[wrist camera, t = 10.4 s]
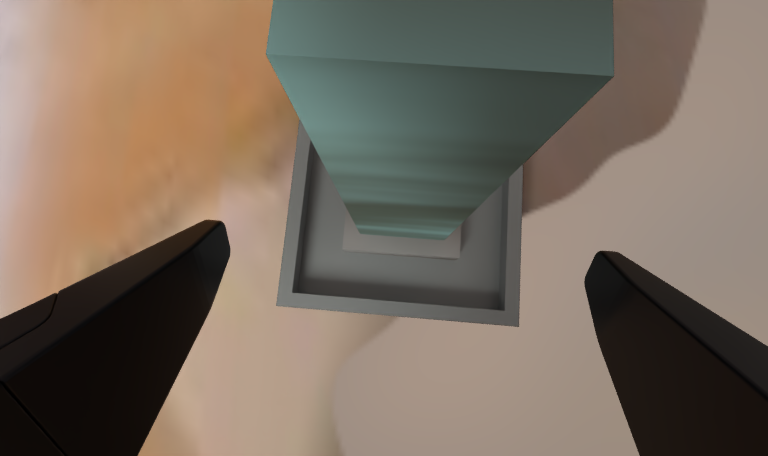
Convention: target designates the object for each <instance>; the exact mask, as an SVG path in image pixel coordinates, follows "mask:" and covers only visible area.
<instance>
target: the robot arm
mask: <svg viewBox="0 0 768 456" xmlns="http://www.w3.org/2000/svg"><path fill="white" fill-rule="evenodd" d="M229 257H230V245H229V240H228V236H227V232H226V227H225V225H224V223H223V222H222V221H216V220H204V221H202V222H200V223H198V224H196V225H194V226H192V227H190V228H187V229H185V230H183V231H181V232H179V233H177V234H175V235H173V236H171V237H169V238H167V239H165V240H163V241H161V242H159V243H157V244H155V245H153V246H151V247H148V248H146V249H144V250H142V251H140V252H138V253H136V254H134V255H132V256H130V257H128V258H126V259H124V260H122V261H120V262H118V263H116V264H114V265H112V266H109V267H107V268H105V269H103V270H101V271H99V272H97V273H95V274H93V275H91V276H89V277H87V278H85V279H83V280H81V281H79V282H77V283H75V284H73V285H70V286H68V287H66V288H64V289H62V290H60V291H59V292H58V294H57V293H54V294H52V295H50V296H48V297H46V298H44V299H42V300H40V301H38V302H35V303H33V304H31V305H29V306H27V307H25V308H23V309H21V310H18V311H16V312H14V313H12V314H10V315H8V316H6V317H3V318H1V319H0V456H138V454H139V452H140V450H141V448H142V446H143V444H144V442H145V440H146V438H147V436H148V434H149V432H150V430H151V428H152V426H153V424H154V422H155V420H156V418H157V416H158V414H159V412H160V410H161V408H162V406H163V404H164V402H165V400H166V398H167V396H168V394H169V392H170V390H171V388H172V386H173V384H174V382H175V380H176V378H177V376H178V374H179V372H180V370H181V368H182V366H183V364H184V362H185V360H186V358H187V356H188V354H189V352H190V350H191V348H192V346H193V344H194V342H195V340H196V338H197V336H198V334H199V332H200V330H201V328H202V326H203V324H204V322H205V320H206V318H207V316H208V313H209V311H210V309H211V307H212V304H213V302H214V299H215V296H216V293H217V291H218V288H219V285H220V282H221V279H222V277H223V274H224V271H225V268H226V265H227V263H228V260H229ZM585 289H586V294H587V298H588V302H589V306H590V310H591V315H592V319H593V323H594V327H595V331H596V335H597V339H598V342H599V345H600V348H601V351H602V354H603V357H604V359H605V362H606V365H607V367H608V370H609V373H610V376H611V378H612V381H613V384H614V387H615V389H616V392H617V395H618V397H619V400H620V403H621V406H622V408H623V411H624V414H625V417H626V419H627V422H628V425H629V428H630V430H631V433H632V436H633V438H634V441H635V444H636V447H637V449H638V452H639V455H640V456H768V346H766V345H765V344H763V343H761V342H760V341H758V340H757V339H755V338H753V337H752V336H750V335H749V334H747V333H746V332H744V331H742V330H741V329H739V328H737V327H736V326H734V325H733V324H731V323H730V322H728V321H726V320H725V319H723V318H722V317H720V316H719V315H717V314H715V313H714V312H712V311H711V310H709V309H707V308H706V307H704V306H703V305H701V304H699V303H698V302H696V301H694V300H693V299H692V298H690V297H688V296H687V295H685V294H684V293H682V292H680V291H679V290H677V289H676V288H674V287H672V286H671V285H669V284H668V283H666V282H665V281H663V280H661V279H660V278H658V277H657V276H655V275H653V274H652V273H650V272H649V271H647V270H645V269H644V268H642V267H641V266H639V265H638V264H636V263H634V262H633V261H631V260H629V259H628V258H626V257H625V256H623V255H622V254H620V253H618V252H613V251H599V252H598V253H596V255H595V257H594V259H593V261H592V263H591V265H590V268H589V270H588V272H587V274H586V276H585Z"/></svg>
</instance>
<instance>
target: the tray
mask: <svg viewBox="0 0 768 456" xmlns="http://www.w3.org/2000/svg"><path fill="white" fill-rule="evenodd" d="M522 187H523V165H521V166H520V167H519V168H518V169H517V170H516V171H515V172H514V173H513V174H512V175H511V176H510V177H509V178H508V179H507V180H506V181H505V182H504V183H503V184H502V185H501V186H500V187H499V188H498V189H497V190H496V191H495V192H494V193H493V194H491V195H490V196H489V197H488V198H487V199H486V200H485V201H484V202H483V203H482V204H481V205H480V206H479V207H478V208H477V209H476V210H475V211H474V212H473V213H472V214H471V215H470V216H469V217H468V218H467V219H466V220H465V221H464V222H462V223H461V240H460V258H459V259H457V260H445V259H432V258H419V257H406V256H393V255H380V254H368V253H355V252H345V251H344V250H343V249H342V247H343V236H344V226H345V216H346V206H345V204H344V202H343V200H342V199H341V197H340V195H339V193H338V191H337V189H336V187H335V185H334V183H333V181H332V179H331V178H330V176H329V174H328V172H327V170H326V168H325V166H324V164H323V162H322V160H321V158H320V157H319V155H318V153H317V151H316V149H315V147H314V145H313V143H312V141H311V139H310V137H309V136H308V134H307V132H306V130H305V128H304V126H303V124H302V122H301V120H299V128H298V136H297V144H296V152H295V160H294V168H293V176H292V184H291V192H290V200H289V208H288V216H287V224H286V232H285V240H284V248H283V256H282V264H281V272H280V280H279V287H278V295H277V303H276V306H283V307H295V308H306V309H318V310H329V311H341V312H353V313H364V314H376V315H388V316H399V317H411V318H423V319H434V320H447V321H458V322H469V323H481V324H494V325H505V326H516V327H519V301H520V263H521V223H522Z"/></svg>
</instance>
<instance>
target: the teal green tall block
mask: <svg viewBox="0 0 768 456" xmlns="http://www.w3.org/2000/svg"><path fill="white" fill-rule="evenodd" d="M266 55H267V57H268V59H269V61H270V63H271V65H272V67H273V69H274V71H275V72H276V74H277V76H278V78H279V80H280V82H281V84H282V86H283V88H284V90H285V92H286V93H287V95H288V97H289V99H290V101H291V103H292V105H293V107H294V109H295V111H296V113H297V115H298V116H299V118H300V120H301V122H302V124H303V126H304V128H305V130H306V132H307V134H308V136H309V137H310V139H311V141H312V143H313V145H314V147H315V149H316V151H317V153H318V155H319V157H320V158H321V160H322V162H323V164H324V166H325V168H326V170H327V172H328V174H329V176H330V178H331V179H332V181H333V183H334V185H335V187H336V189H337V191H338V193H339V195H340V197H341V199H342V200H343V202H344V204H345V206H346V216H345V226H344V236H343V247H342V249H343V250H344V251H345V252H355V253H368V254H380V255H393V256H406V257H419V258H432V259H445V260H457V259H459V258H460V240H461V223H462V222H464V221H465V220H466V219H467V218H468V217H469V216H470V215H471V214H472V213H473V212H474V211H475V210H476V209H477V208H478V207H479V206H480V205H481V204H482V203H483V202H484V201H485V200H486V199H487V198H488V197H489V196H490V195H491V194H493V193H494V192H495V191H496V190H497V189H498V188H499V187H500V186H501V185H502V184H503V183H504V182H505V181H506V180H507V179H508V178H509V177H510V176H511V175H512V174H513V173H514V172H515V171H516V170H517V169H518V168H519V167H520V166H521V165H523V164H524V163H525V162H526V161H527V160H528V159H529V158H530V157H531V156H532V155H533V154H534V153H535V152H536V151H537V150H538V149H539V148H540V147H541V146H542V145H543V144H544V143H545V142H546V141H547V140H548V139H549V138H550V137H551V136H553V135H554V134H555V133H556V132H557V131H558V130H559V129H560V128H561V127H562V126H563V125H564V124H565V123H566V122H567V121H568V120H569V119H570V118H571V117H572V116H573V115H574V114H575V113H576V112H577V111H578V110H579V109H580V108H581V107H583V106H584V105H585V104H586V103H587V102H588V101H589V100H590V99H591V98H592V97H593V96H594V95H595V94H596V93H597V92H598V91H599V90H600V89H601V88H602V87H603V86H604V85H605V84H606V83H607V82H608V81H609V80H610V79H612V78H613V77H614V46H613V0H273V7H272V14H271V21H270V28H269V35H268V42H267V49H266Z"/></svg>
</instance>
